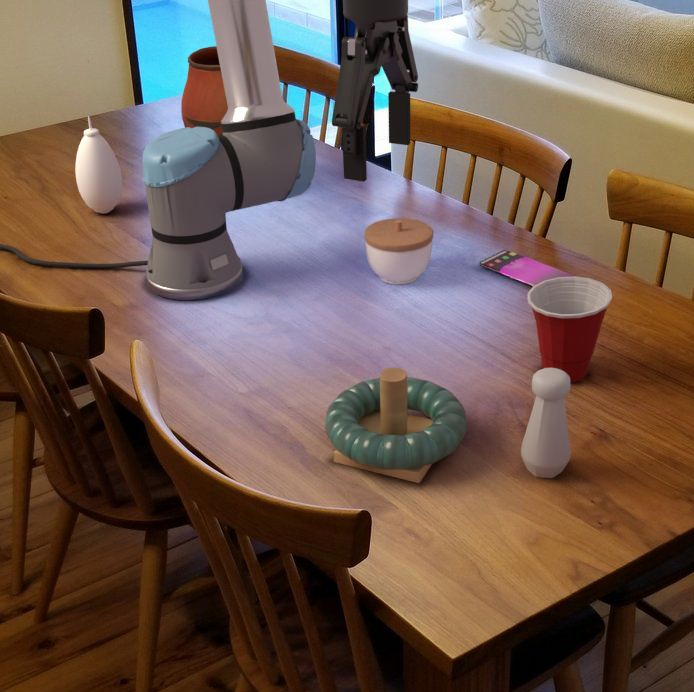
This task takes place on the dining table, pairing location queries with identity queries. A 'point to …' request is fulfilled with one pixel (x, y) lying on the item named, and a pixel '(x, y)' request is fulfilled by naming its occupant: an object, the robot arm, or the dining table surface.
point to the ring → (396, 448)
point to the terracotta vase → (204, 91)
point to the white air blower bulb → (97, 172)
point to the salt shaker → (547, 425)
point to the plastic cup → (568, 321)
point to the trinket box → (398, 249)
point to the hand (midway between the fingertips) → (378, 160)
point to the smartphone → (522, 268)
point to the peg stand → (392, 422)
